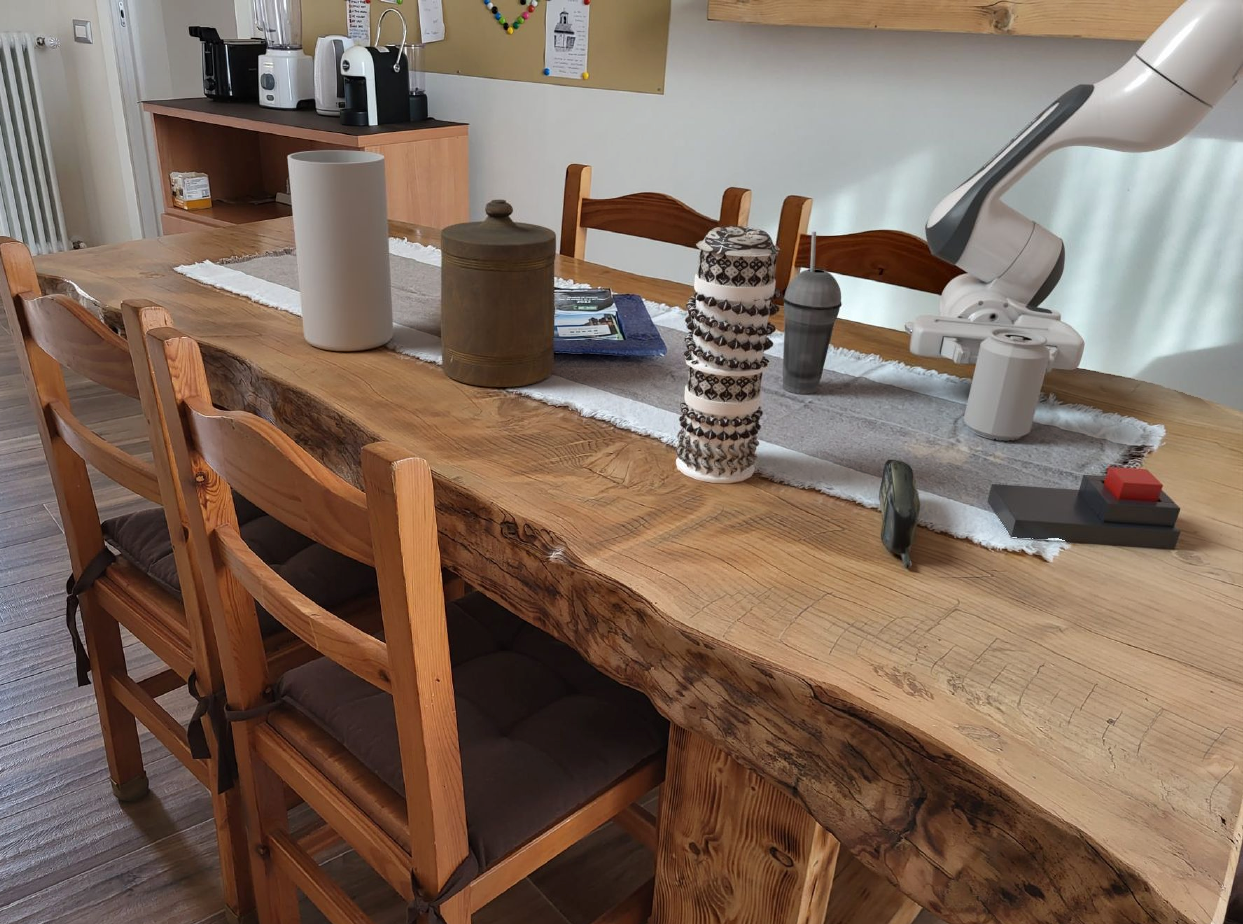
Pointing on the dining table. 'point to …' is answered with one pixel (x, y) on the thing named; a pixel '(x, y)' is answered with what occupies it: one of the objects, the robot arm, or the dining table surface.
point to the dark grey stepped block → (1086, 515)
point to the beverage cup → (808, 326)
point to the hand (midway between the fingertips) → (1004, 361)
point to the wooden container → (497, 300)
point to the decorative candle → (727, 354)
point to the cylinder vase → (342, 248)
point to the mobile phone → (899, 509)
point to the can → (1006, 384)
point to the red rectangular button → (1132, 484)
